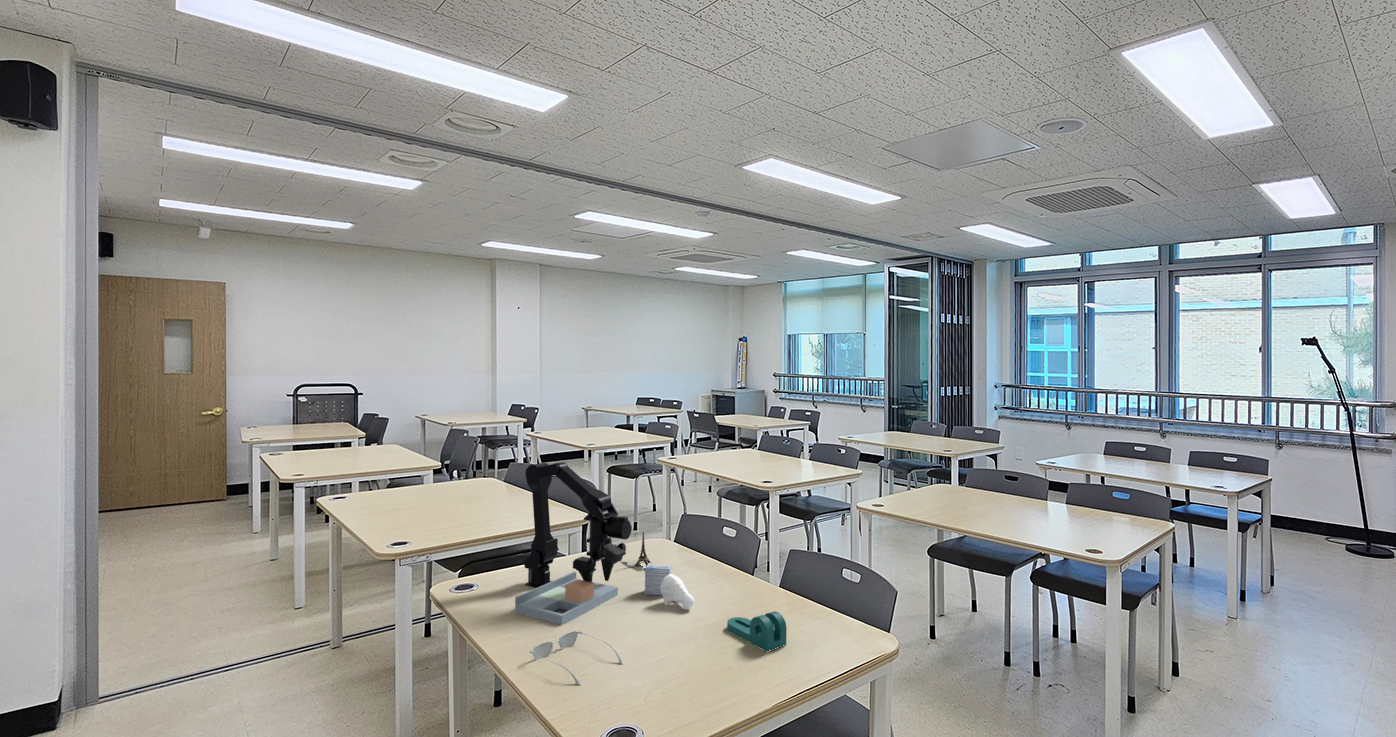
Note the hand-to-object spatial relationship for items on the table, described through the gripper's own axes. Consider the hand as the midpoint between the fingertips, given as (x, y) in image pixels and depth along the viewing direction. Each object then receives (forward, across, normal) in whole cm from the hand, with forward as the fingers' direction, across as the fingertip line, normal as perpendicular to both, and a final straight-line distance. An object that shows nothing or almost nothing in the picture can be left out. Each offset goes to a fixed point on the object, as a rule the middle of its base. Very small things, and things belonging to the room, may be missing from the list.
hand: (598, 585), depth 196 cm
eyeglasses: (+4, -38, -22) cm, 44 cm away
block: (+1, -9, 0) cm, 9 cm away
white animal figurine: (+4, +6, -26) cm, 27 cm away
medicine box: (+4, +12, -15) cm, 19 cm away
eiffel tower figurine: (+4, +33, +5) cm, 34 cm away
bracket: (+4, -3, -54) cm, 54 cm away
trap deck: (+4, -9, +4) cm, 11 cm away
